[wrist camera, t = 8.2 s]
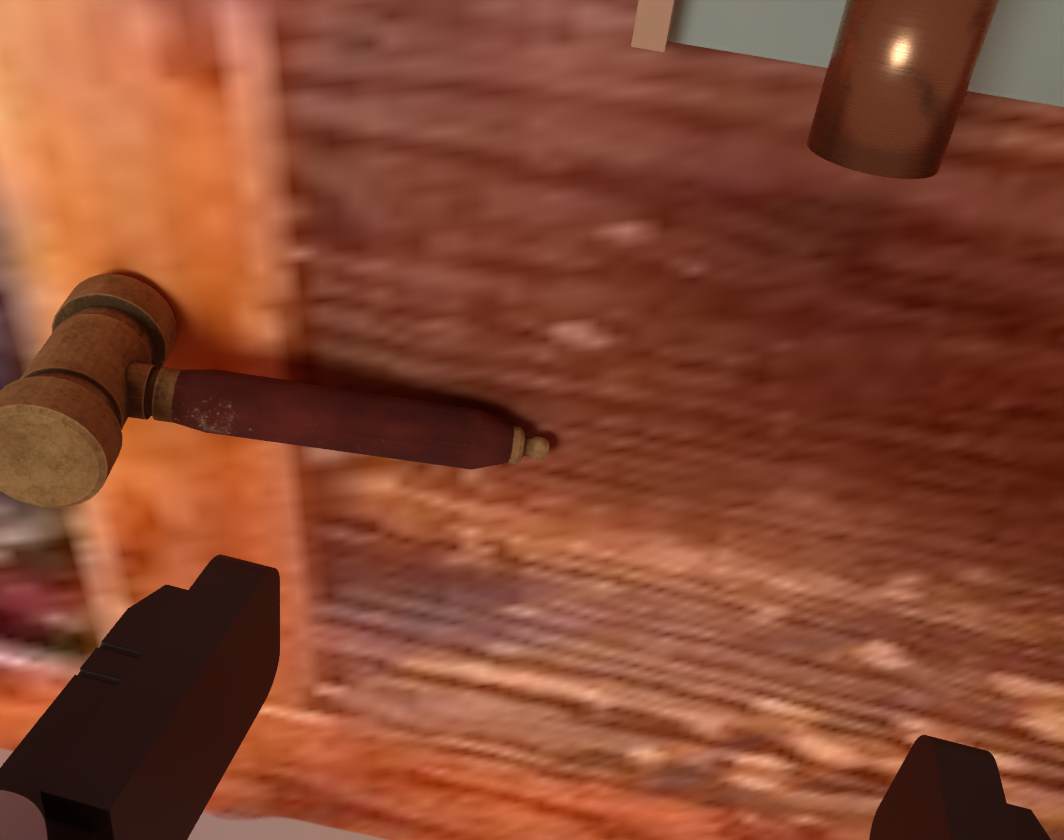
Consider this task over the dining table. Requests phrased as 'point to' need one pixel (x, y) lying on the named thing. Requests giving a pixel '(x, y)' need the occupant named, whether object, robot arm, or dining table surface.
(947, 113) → the rod
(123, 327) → the gavel
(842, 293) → the dining table surface
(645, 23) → the pitch board
